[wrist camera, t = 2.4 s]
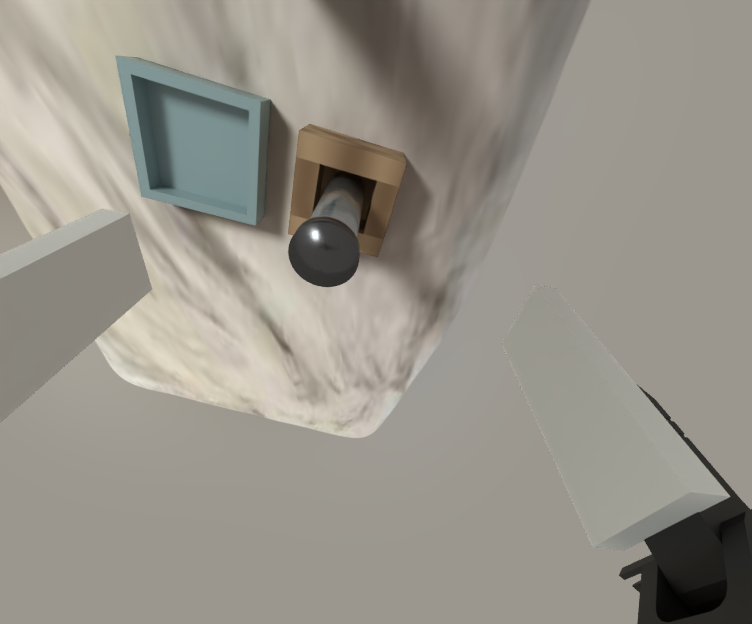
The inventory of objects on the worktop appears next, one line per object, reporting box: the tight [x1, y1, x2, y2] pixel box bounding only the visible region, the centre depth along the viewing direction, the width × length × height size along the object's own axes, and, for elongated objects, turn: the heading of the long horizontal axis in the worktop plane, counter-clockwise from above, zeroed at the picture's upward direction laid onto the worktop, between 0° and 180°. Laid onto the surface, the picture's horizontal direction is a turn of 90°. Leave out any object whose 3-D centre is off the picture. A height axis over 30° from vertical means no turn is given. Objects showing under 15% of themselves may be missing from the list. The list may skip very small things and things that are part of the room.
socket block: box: [288, 124, 407, 257], centre depth 33 cm, size 10×10×5 cm
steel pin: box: [288, 171, 365, 287], centre depth 27 cm, size 5×5×16 cm
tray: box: [116, 56, 270, 226], centre depth 31 cm, size 12×12×3 cm
